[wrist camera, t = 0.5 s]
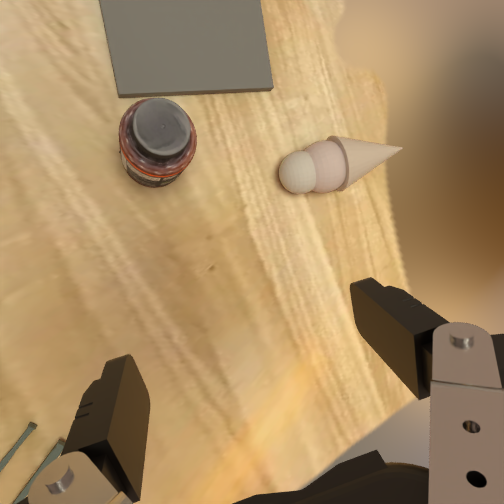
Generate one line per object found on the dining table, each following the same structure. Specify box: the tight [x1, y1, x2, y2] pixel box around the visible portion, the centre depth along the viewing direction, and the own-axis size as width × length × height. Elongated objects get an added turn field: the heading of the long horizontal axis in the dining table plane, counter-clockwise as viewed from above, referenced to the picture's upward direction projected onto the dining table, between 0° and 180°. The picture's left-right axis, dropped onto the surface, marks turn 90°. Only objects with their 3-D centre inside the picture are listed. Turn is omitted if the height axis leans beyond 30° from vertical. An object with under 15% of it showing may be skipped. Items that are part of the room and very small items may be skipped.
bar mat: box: [99, 0, 274, 98], centre depth 35 cm, size 16×14×1 cm
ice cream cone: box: [279, 136, 402, 194], centre depth 39 cm, size 6×6×15 cm
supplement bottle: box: [119, 98, 197, 187], centre depth 30 cm, size 6×6×11 cm
